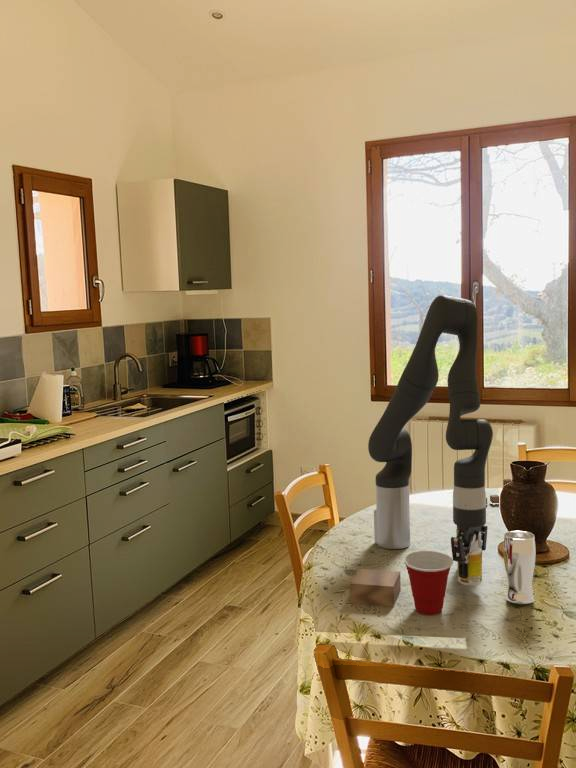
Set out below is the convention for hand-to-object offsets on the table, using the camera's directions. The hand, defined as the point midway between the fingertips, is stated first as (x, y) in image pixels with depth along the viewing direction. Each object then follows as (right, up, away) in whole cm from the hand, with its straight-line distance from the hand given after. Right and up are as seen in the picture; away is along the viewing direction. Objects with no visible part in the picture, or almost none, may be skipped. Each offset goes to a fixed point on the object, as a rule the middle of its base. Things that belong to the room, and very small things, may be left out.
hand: (469, 573), depth 177 cm
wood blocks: (+22, +3, +66) cm, 70 cm away
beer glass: (+10, -4, -6) cm, 13 cm away
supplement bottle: (0, -2, 0) cm, 2 cm away
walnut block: (-22, -5, -2) cm, 23 cm away
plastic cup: (-12, -6, -11) cm, 17 cm away
